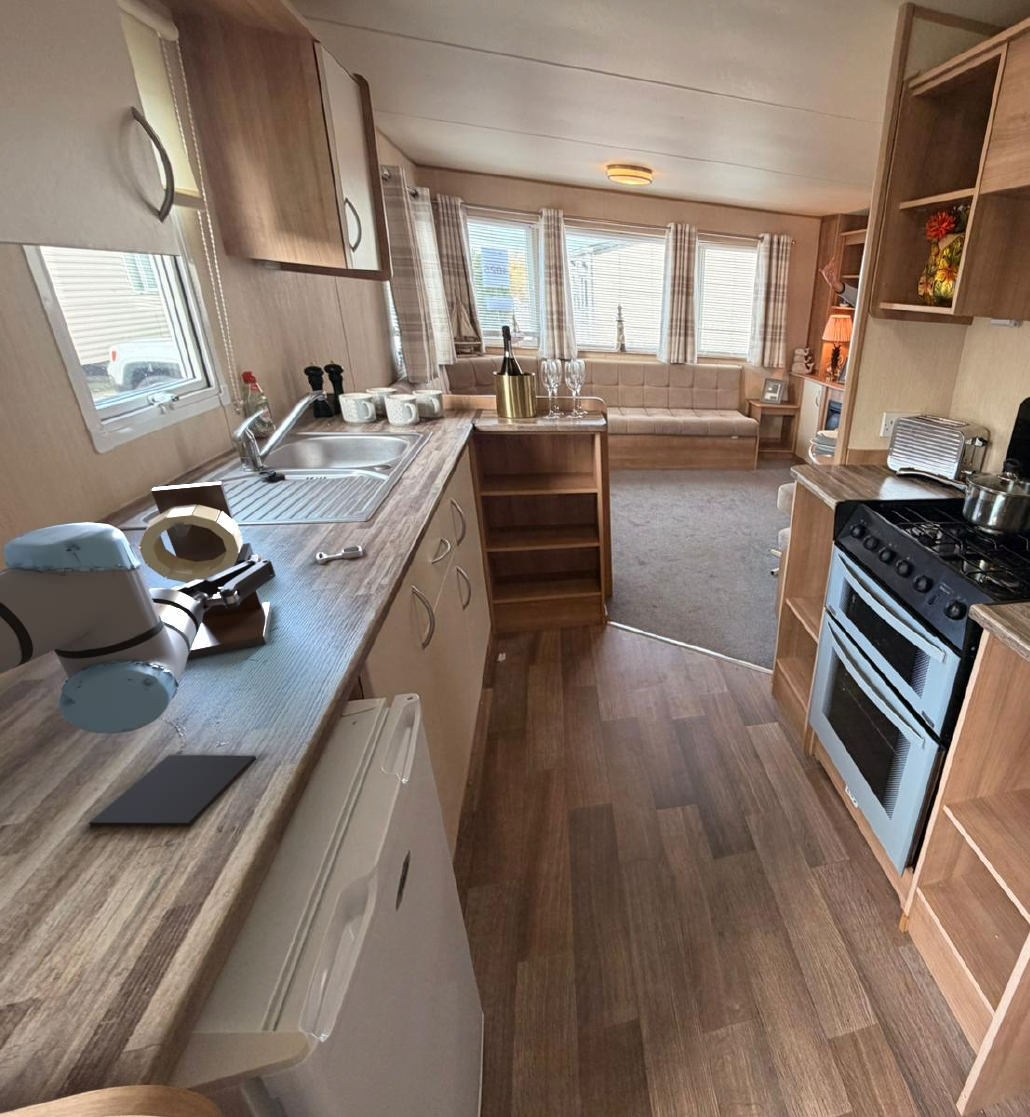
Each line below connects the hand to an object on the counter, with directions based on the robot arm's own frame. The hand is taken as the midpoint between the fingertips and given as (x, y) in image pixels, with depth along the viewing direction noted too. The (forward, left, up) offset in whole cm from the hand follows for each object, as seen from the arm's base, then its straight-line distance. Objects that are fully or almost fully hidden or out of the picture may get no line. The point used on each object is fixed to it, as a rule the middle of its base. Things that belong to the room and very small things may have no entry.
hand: (188, 560), depth 83 cm
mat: (+14, -26, -17) cm, 34 cm away
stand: (-4, +7, -17) cm, 18 cm away
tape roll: (-3, +5, -5) cm, 8 cm away
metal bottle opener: (-4, +37, -17) cm, 41 cm away
